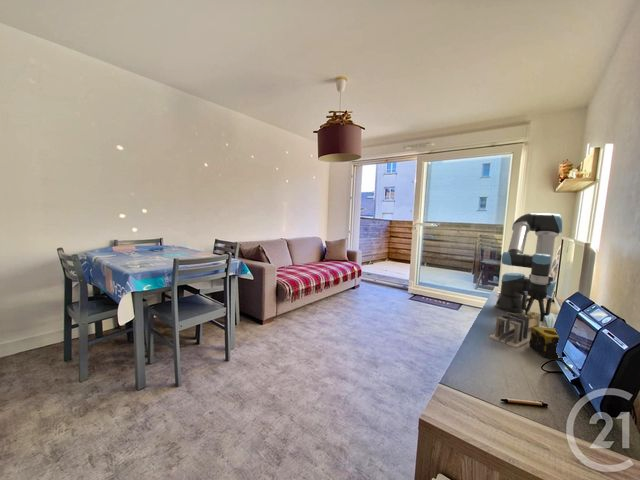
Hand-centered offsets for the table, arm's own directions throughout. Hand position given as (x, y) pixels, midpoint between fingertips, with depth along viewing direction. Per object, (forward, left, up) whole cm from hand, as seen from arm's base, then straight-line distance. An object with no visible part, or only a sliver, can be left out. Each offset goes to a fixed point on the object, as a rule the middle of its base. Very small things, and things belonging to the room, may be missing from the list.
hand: (533, 324), depth 149 cm
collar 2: (+21, 0, -2) cm, 21 cm away
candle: (+27, +15, -2) cm, 31 cm away
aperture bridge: (+31, 0, -2) cm, 31 cm away
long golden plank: (+7, 0, +2) cm, 8 cm away
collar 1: (+27, 0, -2) cm, 27 cm away
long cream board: (+14, 0, -2) cm, 14 cm away
